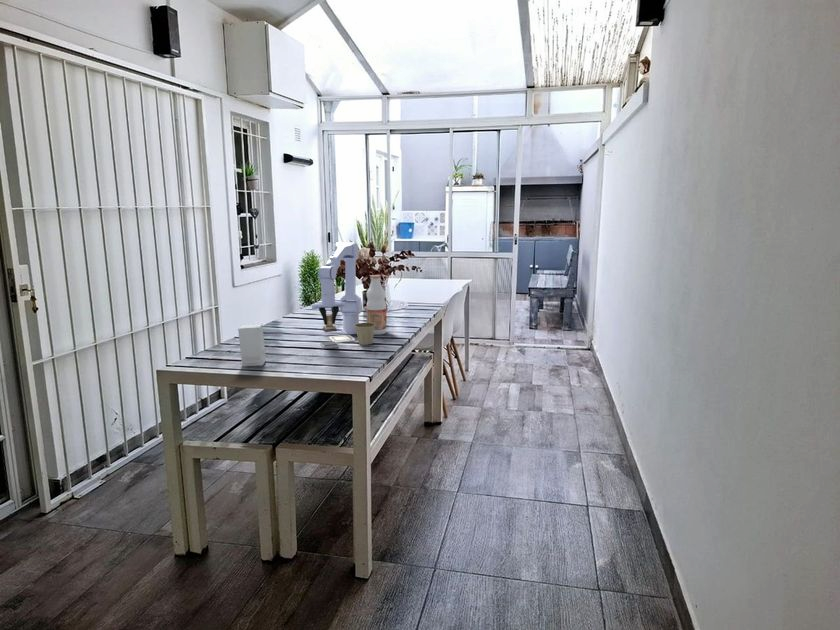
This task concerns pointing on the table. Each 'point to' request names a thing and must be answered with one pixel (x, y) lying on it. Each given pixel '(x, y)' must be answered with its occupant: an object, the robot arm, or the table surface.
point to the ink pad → (329, 344)
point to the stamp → (329, 324)
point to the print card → (342, 338)
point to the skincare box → (252, 345)
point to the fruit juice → (376, 305)
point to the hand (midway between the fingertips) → (329, 324)
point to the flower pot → (365, 333)
